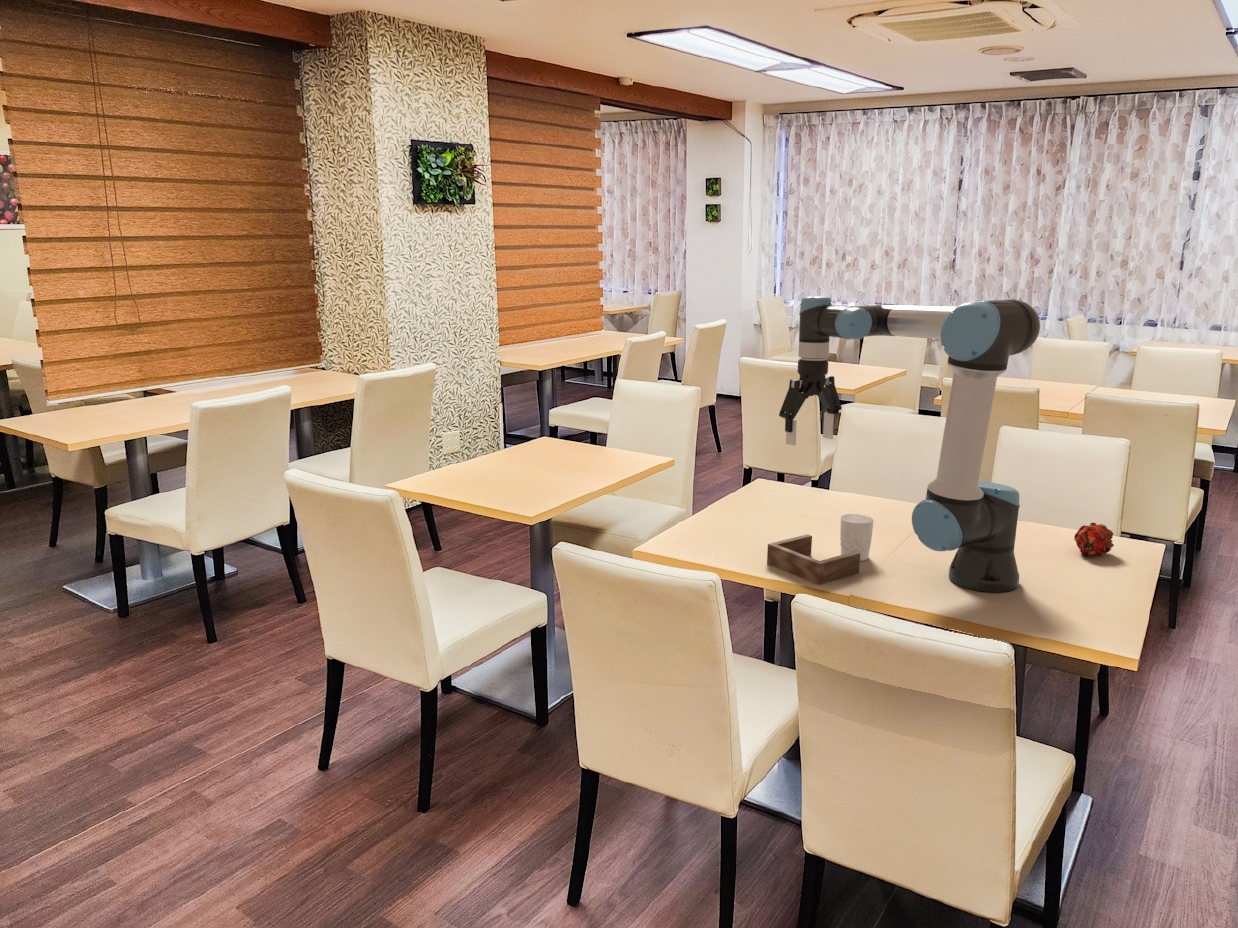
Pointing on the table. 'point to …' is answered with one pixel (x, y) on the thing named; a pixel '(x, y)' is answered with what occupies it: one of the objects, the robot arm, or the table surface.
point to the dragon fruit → (1094, 539)
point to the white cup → (856, 534)
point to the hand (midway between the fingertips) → (809, 441)
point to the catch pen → (810, 561)
